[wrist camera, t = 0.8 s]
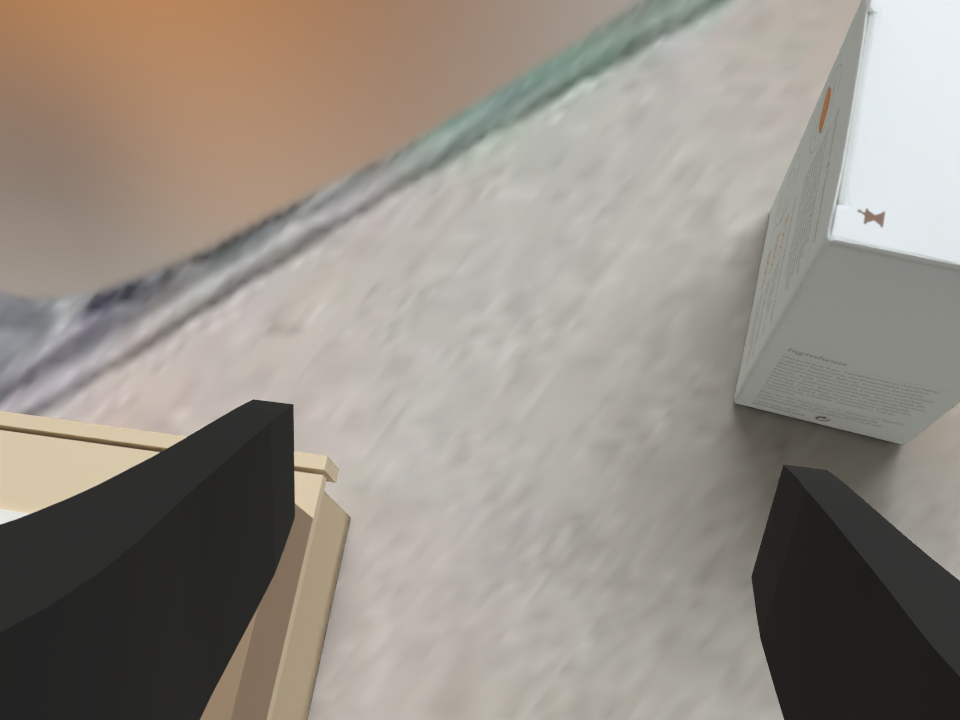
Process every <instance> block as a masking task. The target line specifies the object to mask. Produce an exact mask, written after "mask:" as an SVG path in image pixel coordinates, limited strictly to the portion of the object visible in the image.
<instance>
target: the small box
mask: <svg viewBox="0 0 960 720" xmlns="http://www.w3.org/2000/svg"><path fill="white" fill-rule="evenodd" d="M734 402H735V403H736V404H740V405H745V406H749V407H753V408H757V409H761V410H765V411H769V412H773V413H777V414H781V415H785V416H789V417H793V418H797V419H801V420H805V421H809V422H813V423H817V424H821V425H825V426H829V427H833V428H837V429H841V430H845V431H850V432H854V433H858V434H862V435H866V436H869V437H873V438H877V439H882V440H886V441H890V442H894V443H898V444H906V443H907V442H909V441H910V440H911V439H913V438H914V437H915V436H916V435H918V434H919V433H920V432H922V431H923V430H924V429H925V428H927V427H928V426H929V425H931V424H932V423H933V422H934V421H936V420H937V419H938V418H939V417H941V416H942V415H943V414H944V413H946V412H947V411H948V410H950V409H951V408H953V407H954V406H955V405H956V404H957V403H958V402H960V0H862V1H861V3H860V6H859V8H858V10H857V12H856V15H855V17H854V19H853V21H852V24H851V26H850V28H849V30H848V33H847V35H846V37H845V40H844V42H843V44H842V47H841V49H840V51H839V54H838V56H837V58H836V61H835V63H834V65H833V67H832V70H831V72H830V74H829V76H828V79H827V81H826V84H825V86H824V89H823V91H822V93H821V95H820V98H819V100H818V102H817V105H816V107H815V109H814V112H813V114H812V116H811V118H810V120H809V123H808V125H807V128H806V130H805V132H804V135H803V137H802V139H801V142H800V144H799V146H798V148H797V151H796V153H795V155H794V157H793V160H792V162H791V164H790V166H789V169H788V171H787V173H786V175H785V178H784V180H783V182H782V185H781V187H780V189H779V191H778V194H777V196H776V198H775V201H774V203H773V205H772V208H771V211H770V218H769V223H768V228H767V233H766V239H765V244H764V249H763V254H762V259H761V264H760V269H759V274H758V280H757V285H756V290H755V295H754V300H753V305H752V310H751V315H750V320H749V325H748V330H747V336H746V341H745V346H744V352H743V357H742V361H741V366H740V371H739V376H738V381H737V386H736V390H735V395H734Z"/></svg>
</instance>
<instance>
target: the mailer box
mask: <svg viewBox="0 0 960 720" xmlns="http://www.w3.org/2000/svg"><path fill="white" fill-rule="evenodd" d="M350 518H351V517H350V516H349V515H348V514H347V513H346V512H345V511H344V510H343V509H342V508H341V507H340V506H339V505H338V504H337V503H336V502H335V501H334V500H333V499H332V498H331V497H330V496H329V495H328V494H327V493H326V492H325V491H324V492H323V496H322V501H321V505H320V510H319V514H318V518H317V523H316V527H315V531H314V536H313V540H312V544H311V549H310V553H309V558H308V562H307V566H306V571H305V575H304V579H303V584H302V588H301V592H300V597H299V601H298V605H297V610H296V614H295V619H294V623H293V627H292V632H291V636H290V640H289V645H288V649H287V653H286V658H285V662H284V667H283V671H282V675H281V680H280V684H279V688H278V693H277V697H276V701H275V706H274V710H273V715H272V719H271V720H307V718H308V714H309V709H310V704H311V700H312V695H313V690H314V686H315V681H316V676H317V672H318V667H319V662H320V658H321V653H322V648H323V644H324V639H325V634H326V630H327V625H328V620H329V616H330V611H331V606H332V602H333V597H334V593H335V588H336V583H337V579H338V574H339V569H340V565H341V560H342V555H343V551H344V546H345V541H346V537H347V532H348V527H349V523H350Z"/></svg>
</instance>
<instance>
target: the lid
mask: <svg viewBox="0 0 960 720" xmlns="http://www.w3.org/2000/svg"><path fill="white" fill-rule="evenodd" d="M186 437H187V436H179V435H172V434H165V433H157V432H150V431H143V430H135V429H128V428H121V427H113V426H106V425H99V424H92V423H84V422H77V421H70V420H62V419H55V418H48V417H40V416H33V415H26V414H18V413H11V412H4V411H0V525H1V524H4V523H7V522H10V521H13V520H15V519H18V518H21V517H23V516H26V515H29V514H31V513H34V512H36V511H39V510H41V509H44V508H46V507H48V506H51V505H53V504H56V503H58V502H61V501H63V500H66V499H68V498H70V497H72V496H75V495H77V494H79V493H81V492H84V491H86V490H88V489H90V488H92V487H94V486H96V485H99V484H101V483H103V482H104V481H106V480H108V479H110V478H112V477H114V476H116V475H118V474H120V473H122V472H124V471H126V470H128V469H130V468H132V467H134V466H135V465H137V464H139V463H141V462H143V461H145V460H147V459H149V458H151V457H153V456H155V455H157V454H158V453H160V452H162V451H164V450H165V449H167V448H169V447H171V446H172V445H174V444H176V443H178V442H179V441H181V440H183V439H185V438H186ZM338 471H339V469H338V468H337V466H336V465H335V464H334V463H333V462H332V460H331V459H330V458H329V457H328V456H326V455H318V454H311V453H304V452H296V451H294V482H295V519H294V522H293V525H292V528H291V531H290V533H289V536H288V539H287V542H286V545H285V548H284V551H283V553H282V556H281V559H280V562H279V564H278V567H277V570H276V572H275V575H274V577H273V579H272V581H271V583H270V585H269V587H268V589H267V590H266V592H265V594H264V596H263V598H262V600H261V602H260V604H259V606H258V608H257V610H256V612H255V614H254V616H253V618H252V620H251V621H250V623H249V625H248V627H247V629H246V631H245V633H244V635H243V637H242V639H241V640H240V642H239V644H238V646H237V648H236V650H235V652H234V654H233V656H232V658H231V659H230V661H229V663H228V665H227V667H226V669H225V671H224V673H223V675H222V677H221V678H220V680H219V682H218V684H217V686H216V688H215V690H214V692H213V694H212V696H211V697H210V700H209V702H208V704H207V706H206V708H205V710H204V712H203V714H202V717H201V719H200V720H271V719H272V715H273V710H274V706H275V701H276V697H277V693H278V688H279V684H280V680H281V675H282V671H283V667H284V662H285V658H286V653H287V649H288V645H289V640H290V636H291V632H292V627H293V623H294V619H295V614H296V610H297V605H298V601H299V597H300V592H301V588H302V584H303V579H304V575H305V571H306V566H307V562H308V558H309V553H310V549H311V544H312V540H313V536H314V531H315V527H316V523H317V518H318V514H319V510H320V505H321V501H322V496H323V492H324V488H325V483H326V481H329V482H336V480H337V475H338Z"/></svg>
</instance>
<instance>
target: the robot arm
mask: <svg viewBox="0 0 960 720" xmlns="http://www.w3.org/2000/svg"><path fill="white" fill-rule="evenodd" d="M294 519H295V482H294V419H293V404H285V403H277V402H269V401H261V400H252V401H250V402H247V403H245V404H243V405H242V406H240V407H238V408H236V409H234V410H233V411H231V412H229V413H227V414H226V415H224V416H222V417H220V418H219V419H217V420H215V421H214V422H212V423H210V424H209V425H207V426H205V427H204V428H202V429H200V430H198V431H197V432H195V433H193V434H191V435H190V436H188V437H186V438H185V439H183V440H181V441H179V442H178V443H176V444H174V445H172V446H171V447H169V448H167V449H165V450H164V451H162V452H160V453H158V454H157V455H155V456H153V457H151V458H149V459H147V460H145V461H143V462H141V463H139V464H137V465H135V466H134V467H132V468H130V469H128V470H126V471H124V472H122V473H120V474H118V475H116V476H114V477H112V478H110V479H108V480H106V481H104V482H103V483H101V484H99V485H96V486H94V487H92V488H90V489H88V490H86V491H84V492H81V493H79V494H77V495H75V496H72V497H70V498H68V499H66V500H63V501H61V502H58V503H56V504H53V505H51V506H48V507H46V508H44V509H41V510H39V511H36V512H34V513H31V514H29V515H26V516H23V517H21V518H18V519H15V520H13V521H10V522H7V523H4V524H1V525H0V720H200V719H201V717H202V714H203V712H204V710H205V708H206V706H207V704H208V702H209V700H210V697H211V696H212V694H213V692H214V690H215V688H216V686H217V684H218V682H219V680H220V678H221V677H222V675H223V673H224V671H225V669H226V667H227V665H228V663H229V661H230V659H231V658H232V656H233V654H234V652H235V650H236V648H237V646H238V644H239V642H240V640H241V639H242V637H243V635H244V633H245V631H246V629H247V627H248V625H249V623H250V621H251V620H252V618H253V616H254V614H255V612H256V610H257V608H258V606H259V604H260V602H261V600H262V598H263V596H264V594H265V592H266V590H267V589H268V587H269V585H270V583H271V581H272V579H273V577H274V575H275V572H276V570H277V567H278V564H279V562H280V559H281V556H282V553H283V551H284V548H285V545H286V542H287V539H288V536H289V533H290V531H291V528H292V525H293V522H294ZM752 583H753V591H754V599H755V606H756V613H757V619H758V625H759V632H760V638H761V642H762V645H763V649H764V653H765V656H766V659H767V663H768V666H769V670H770V673H771V677H772V680H773V684H774V687H775V690H776V694H777V697H778V700H779V704H780V707H781V710H782V714H783V717H784V720H960V581H959V580H958V579H957V578H955V577H954V576H953V575H951V574H950V573H949V572H948V571H947V570H945V569H944V568H943V567H942V566H940V565H939V564H938V563H937V562H935V561H934V560H933V559H932V558H931V557H929V556H928V555H927V554H926V553H925V552H923V551H922V550H921V549H920V548H919V547H917V546H916V545H915V544H914V543H913V542H912V541H910V540H909V539H908V538H907V537H906V536H904V535H903V534H902V533H901V532H900V531H899V530H898V529H896V528H895V527H894V526H893V525H892V524H891V523H889V522H888V521H887V520H886V519H885V518H884V517H883V516H881V515H880V514H879V513H878V512H877V511H876V510H875V509H873V508H872V507H871V506H870V505H869V504H868V503H866V502H865V501H864V500H863V499H862V498H861V497H860V496H858V495H857V494H856V493H855V492H854V491H853V490H851V489H850V488H849V487H848V486H847V485H845V484H844V483H843V482H842V481H840V480H839V479H838V478H837V477H835V476H834V475H833V474H831V473H830V472H829V471H827V470H821V469H813V468H805V467H797V466H789V465H783V469H782V472H781V476H780V479H779V483H778V486H777V490H776V493H775V497H774V500H773V504H772V507H771V511H770V514H769V518H768V521H767V525H766V528H765V532H764V535H763V539H762V542H761V546H760V549H759V553H758V556H757V560H756V563H755V567H754V570H753V574H752Z"/></svg>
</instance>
